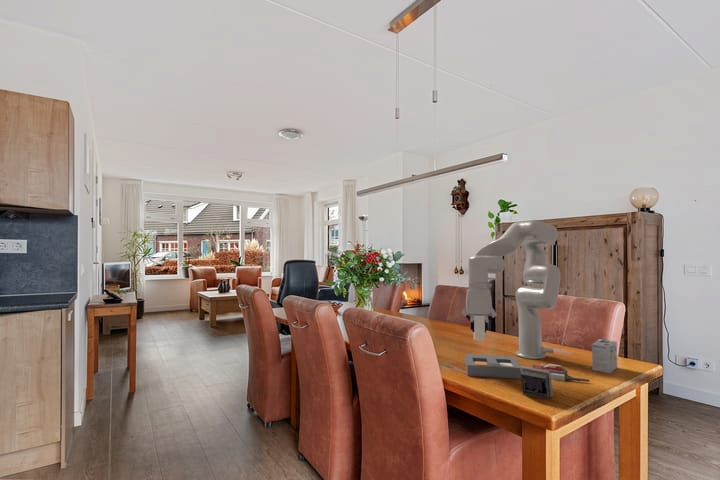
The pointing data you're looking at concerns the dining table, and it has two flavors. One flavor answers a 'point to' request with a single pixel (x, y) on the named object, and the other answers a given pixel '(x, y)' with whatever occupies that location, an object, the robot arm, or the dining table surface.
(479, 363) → the socket block
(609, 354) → the light bulb box
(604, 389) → the dining table surface
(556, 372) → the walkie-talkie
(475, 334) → the white bottle
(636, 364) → the dining table surface
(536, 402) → the dining table surface
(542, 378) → the electrical switch
